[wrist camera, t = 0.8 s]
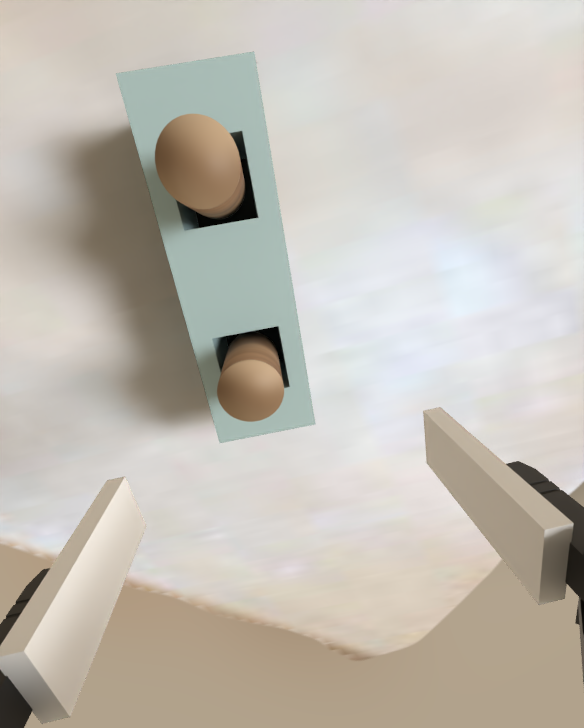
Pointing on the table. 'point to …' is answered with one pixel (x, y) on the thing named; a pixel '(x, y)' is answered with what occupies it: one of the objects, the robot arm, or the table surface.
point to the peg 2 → (251, 378)
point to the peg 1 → (200, 165)
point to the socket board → (223, 232)
